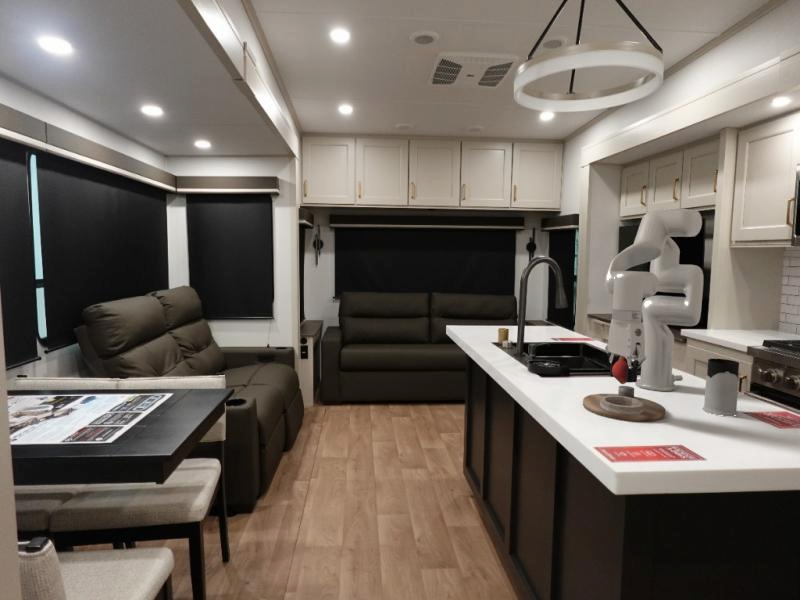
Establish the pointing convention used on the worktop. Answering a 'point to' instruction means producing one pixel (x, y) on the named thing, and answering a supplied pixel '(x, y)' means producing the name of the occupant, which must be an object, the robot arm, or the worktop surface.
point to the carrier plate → (643, 417)
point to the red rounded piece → (620, 370)
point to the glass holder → (721, 387)
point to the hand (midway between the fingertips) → (623, 378)
